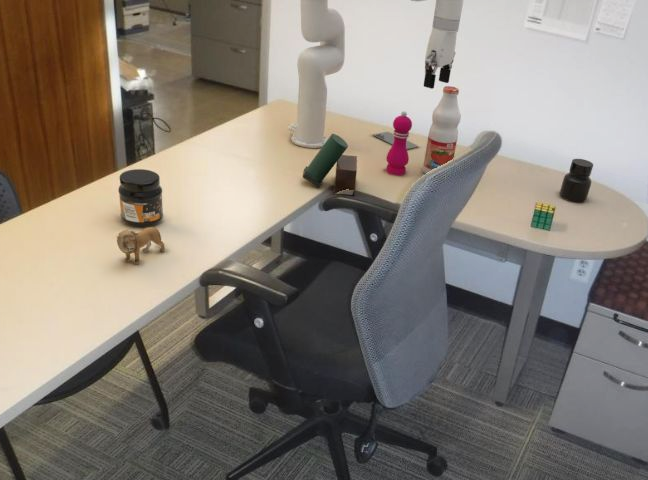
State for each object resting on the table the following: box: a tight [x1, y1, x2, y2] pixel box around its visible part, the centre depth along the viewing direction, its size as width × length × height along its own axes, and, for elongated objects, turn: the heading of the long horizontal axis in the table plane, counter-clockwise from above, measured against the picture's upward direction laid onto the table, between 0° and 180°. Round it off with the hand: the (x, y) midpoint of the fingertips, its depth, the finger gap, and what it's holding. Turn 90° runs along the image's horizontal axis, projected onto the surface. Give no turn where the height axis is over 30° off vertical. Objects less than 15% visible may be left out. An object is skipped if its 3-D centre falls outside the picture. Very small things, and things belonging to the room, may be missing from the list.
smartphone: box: [372, 131, 419, 150], centre depth 259 cm, size 8×1×16 cm
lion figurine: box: [116, 226, 166, 265], centre depth 167 cm, size 15×5×9 cm, turn 159°
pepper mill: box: [385, 110, 413, 176], centre depth 229 cm, size 7×7×20 cm
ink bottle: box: [559, 158, 594, 203], centre depth 232 cm, size 10×9×12 cm
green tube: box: [302, 133, 349, 189], centre depth 214 cm, size 13×6×16 cm, turn 91°
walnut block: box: [333, 154, 358, 195], centre depth 217 cm, size 6×12×8 cm, turn 1°
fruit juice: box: [422, 85, 462, 175], centre depth 231 cm, size 9×9×28 cm
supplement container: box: [117, 168, 164, 228], centre depth 182 cm, size 10×10×12 cm
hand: (436, 84), depth 214 cm, fingers open, 9 cm apart
